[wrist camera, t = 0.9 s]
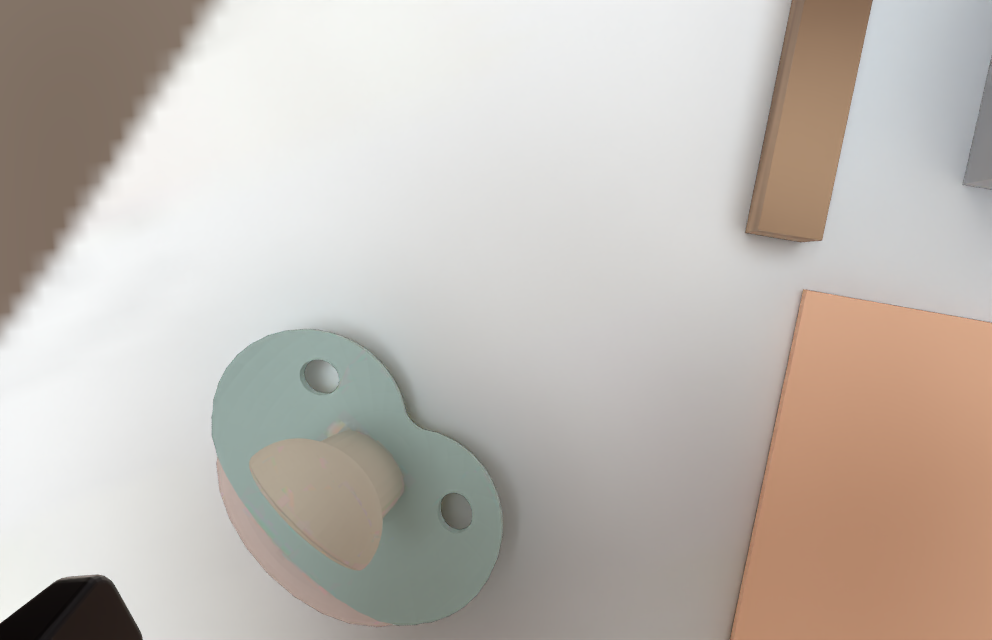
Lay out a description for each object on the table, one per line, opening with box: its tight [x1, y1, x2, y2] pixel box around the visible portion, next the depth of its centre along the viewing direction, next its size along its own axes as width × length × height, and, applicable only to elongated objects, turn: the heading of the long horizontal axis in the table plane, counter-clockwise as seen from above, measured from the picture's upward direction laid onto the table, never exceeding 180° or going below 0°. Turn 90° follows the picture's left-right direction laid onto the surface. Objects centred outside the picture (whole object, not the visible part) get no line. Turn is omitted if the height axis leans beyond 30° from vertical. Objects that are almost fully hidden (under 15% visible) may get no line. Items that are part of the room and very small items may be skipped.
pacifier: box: [212, 329, 503, 627], centre depth 19 cm, size 7×6×6 cm
